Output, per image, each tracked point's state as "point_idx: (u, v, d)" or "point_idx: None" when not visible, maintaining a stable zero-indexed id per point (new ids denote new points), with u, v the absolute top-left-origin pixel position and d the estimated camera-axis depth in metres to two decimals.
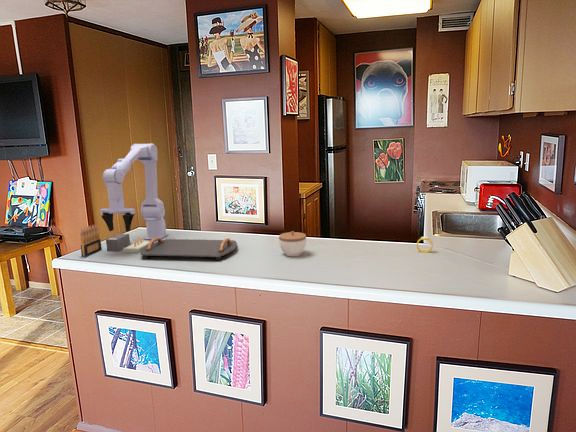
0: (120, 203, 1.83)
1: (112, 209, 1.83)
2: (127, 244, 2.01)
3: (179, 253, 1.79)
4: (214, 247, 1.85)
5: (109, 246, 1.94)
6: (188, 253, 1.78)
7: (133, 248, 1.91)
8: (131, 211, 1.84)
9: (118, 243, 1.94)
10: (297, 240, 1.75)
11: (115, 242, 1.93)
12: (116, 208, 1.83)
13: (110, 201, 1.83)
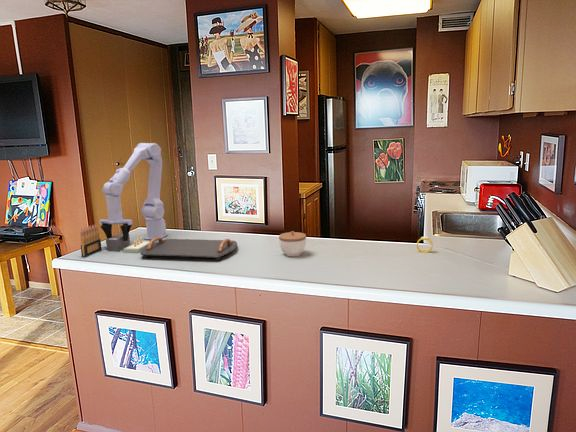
0: (118, 214, 1.94)
1: (111, 220, 1.93)
2: (127, 244, 2.01)
3: (178, 253, 1.79)
4: (214, 247, 1.85)
5: (109, 246, 1.94)
6: (187, 253, 1.78)
7: (133, 248, 1.91)
8: (129, 222, 1.94)
9: (118, 243, 1.94)
10: (297, 240, 1.75)
11: (115, 242, 1.93)
12: (114, 219, 1.93)
13: (109, 212, 1.93)
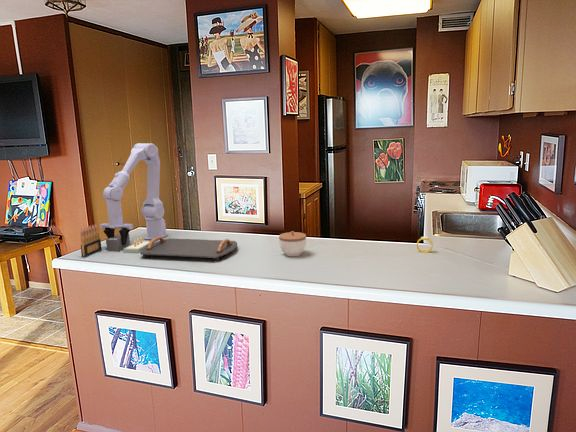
0: (119, 219, 1.94)
1: (111, 224, 1.94)
2: (127, 244, 2.01)
3: (177, 253, 1.79)
4: (214, 247, 1.85)
5: (109, 246, 1.94)
6: (186, 253, 1.78)
7: (133, 248, 1.91)
8: (129, 226, 1.94)
9: (118, 243, 1.94)
10: (297, 240, 1.75)
11: (115, 242, 1.93)
12: (115, 223, 1.94)
13: (109, 217, 1.93)
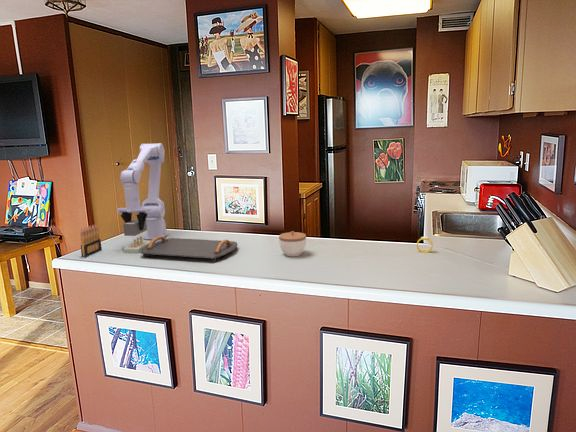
0: (136, 203, 1.91)
1: (129, 209, 1.90)
2: (144, 229, 1.97)
3: (176, 253, 1.79)
4: (213, 248, 1.84)
5: (126, 231, 1.90)
6: (185, 253, 1.78)
7: (133, 248, 1.91)
8: (147, 211, 1.91)
9: (135, 227, 1.90)
10: (297, 240, 1.75)
11: (132, 226, 1.89)
12: (133, 208, 1.90)
13: (127, 201, 1.90)
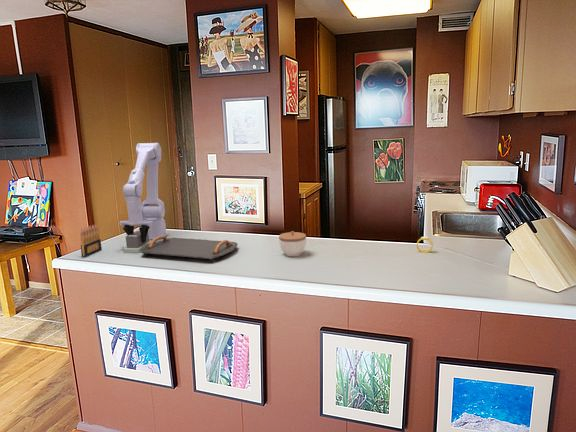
0: (139, 216, 1.92)
1: (131, 221, 1.91)
2: (146, 241, 1.98)
3: (175, 253, 1.79)
4: (212, 248, 1.84)
5: (129, 243, 1.91)
6: (183, 253, 1.78)
7: (133, 248, 1.91)
8: (149, 223, 1.92)
9: (138, 240, 1.91)
10: (297, 240, 1.75)
11: (135, 239, 1.90)
12: (135, 221, 1.91)
13: (129, 214, 1.91)
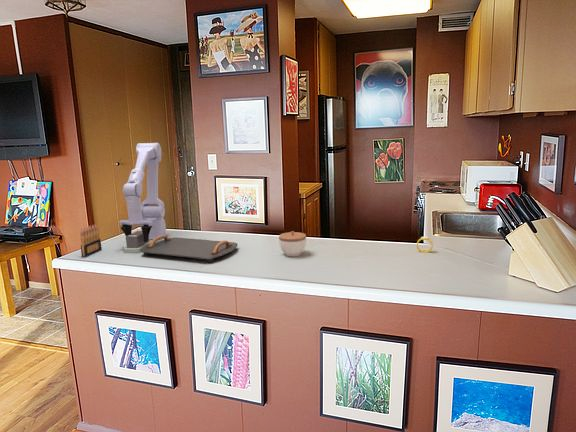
0: (139, 215, 1.92)
1: (131, 221, 1.91)
2: None
3: (174, 253, 1.79)
4: (212, 249, 1.83)
5: (129, 243, 1.91)
6: (182, 253, 1.78)
7: (133, 248, 1.91)
8: (149, 223, 1.92)
9: (138, 240, 1.91)
10: (297, 240, 1.75)
11: (135, 239, 1.90)
12: (135, 220, 1.91)
13: (129, 213, 1.91)
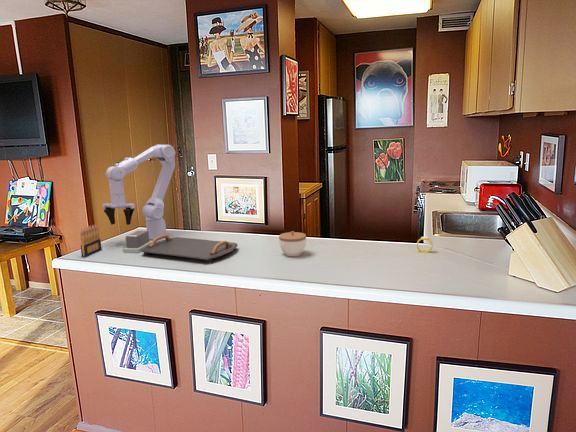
0: (121, 198, 1.97)
1: (114, 204, 1.97)
2: (146, 241, 1.98)
3: (174, 252, 1.80)
4: (211, 249, 1.83)
5: (129, 243, 1.91)
6: (182, 253, 1.78)
7: (133, 248, 1.91)
8: (131, 206, 1.98)
9: (138, 240, 1.91)
10: (297, 240, 1.75)
11: (135, 239, 1.90)
12: (117, 203, 1.97)
13: (112, 196, 1.97)
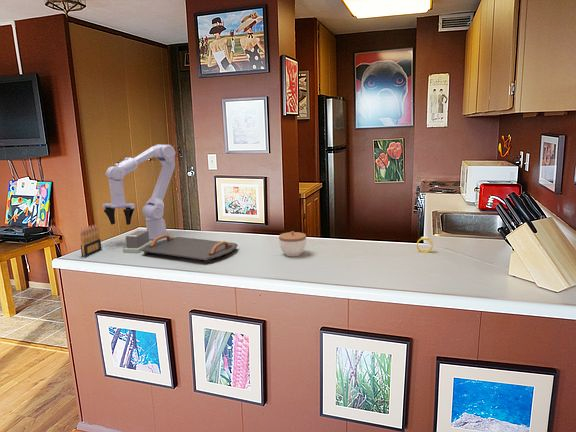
0: (121, 198, 1.97)
1: (114, 204, 1.97)
2: (146, 241, 1.98)
3: (173, 252, 1.80)
4: (211, 249, 1.83)
5: (129, 243, 1.91)
6: (181, 253, 1.78)
7: (133, 248, 1.91)
8: (131, 206, 1.98)
9: (138, 240, 1.91)
10: (297, 240, 1.75)
11: (135, 239, 1.90)
12: (117, 203, 1.97)
13: (112, 196, 1.97)
